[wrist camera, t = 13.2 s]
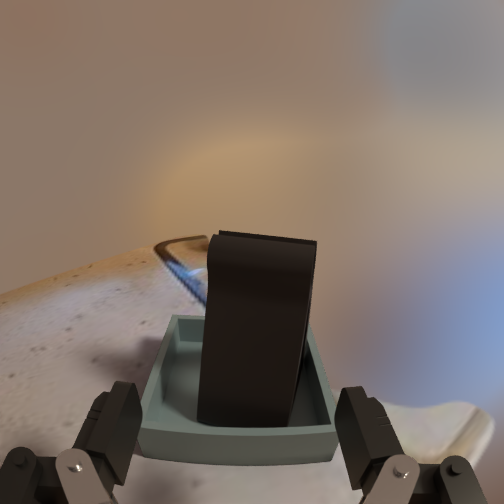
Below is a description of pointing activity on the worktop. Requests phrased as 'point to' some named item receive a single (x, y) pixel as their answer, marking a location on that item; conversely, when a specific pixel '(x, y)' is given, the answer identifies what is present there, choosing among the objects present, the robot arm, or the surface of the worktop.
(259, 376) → the phone stand
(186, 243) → the worktop surface
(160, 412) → the slate tray
